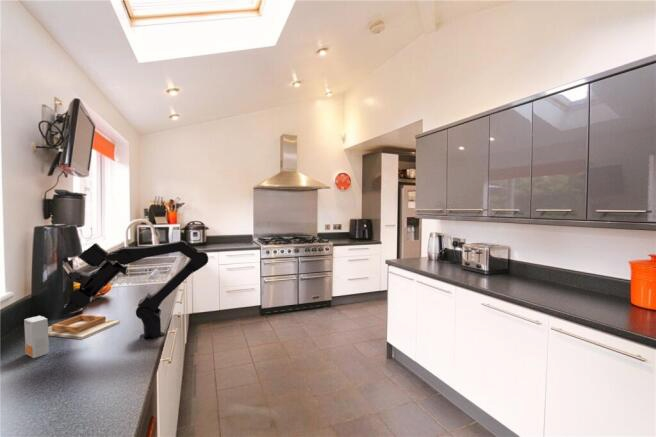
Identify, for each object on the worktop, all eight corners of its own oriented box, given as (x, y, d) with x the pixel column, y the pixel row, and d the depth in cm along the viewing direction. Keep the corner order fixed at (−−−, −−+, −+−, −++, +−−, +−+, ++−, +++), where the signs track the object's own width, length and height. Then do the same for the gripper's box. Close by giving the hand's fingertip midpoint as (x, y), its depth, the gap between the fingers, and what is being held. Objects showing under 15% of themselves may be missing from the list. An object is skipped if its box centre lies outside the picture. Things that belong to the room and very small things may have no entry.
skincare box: (25, 354, 103) (23, 319, 103) (41, 349, 107) (40, 315, 107) (33, 358, 101) (31, 322, 100) (49, 353, 104) (48, 318, 104)
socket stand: (119, 323, 131) (119, 315, 130) (82, 339, 115) (82, 330, 115) (77, 319, 135) (77, 311, 135) (36, 333, 120) (35, 325, 120)
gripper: (90, 257, 117) (53, 289, 112) (75, 265, 100) (31, 304, 96) (116, 275, 120) (81, 308, 116) (105, 287, 104) (65, 325, 99)
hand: (65, 310), depth 107 cm, fingers open, 9 cm apart
